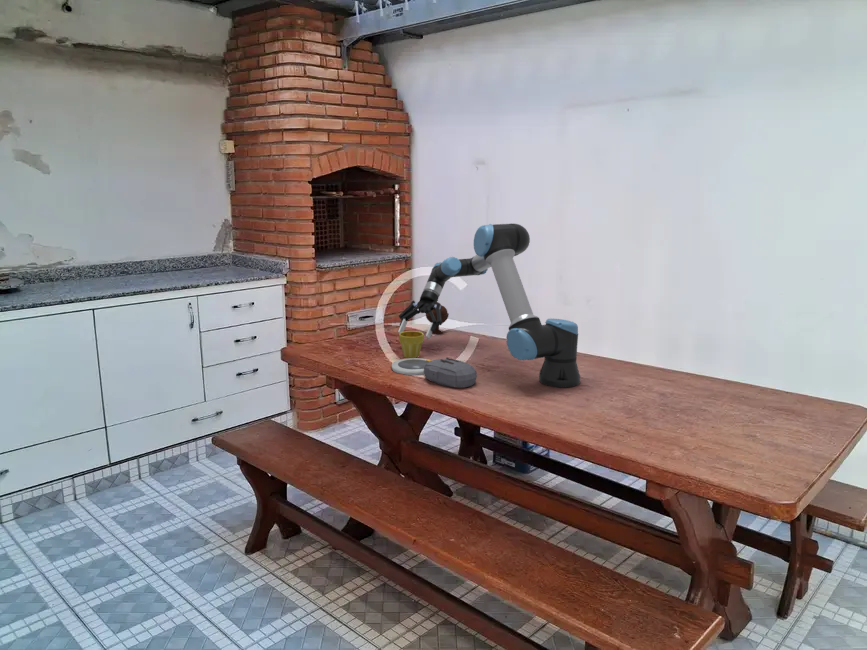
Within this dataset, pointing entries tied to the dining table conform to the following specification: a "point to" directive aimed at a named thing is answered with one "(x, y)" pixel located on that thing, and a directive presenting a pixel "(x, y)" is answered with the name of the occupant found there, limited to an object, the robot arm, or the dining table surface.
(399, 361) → the base
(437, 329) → the ice cream bowl
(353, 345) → the dining table surface
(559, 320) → the robot arm
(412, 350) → the plant pot
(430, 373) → the soft grey pack
